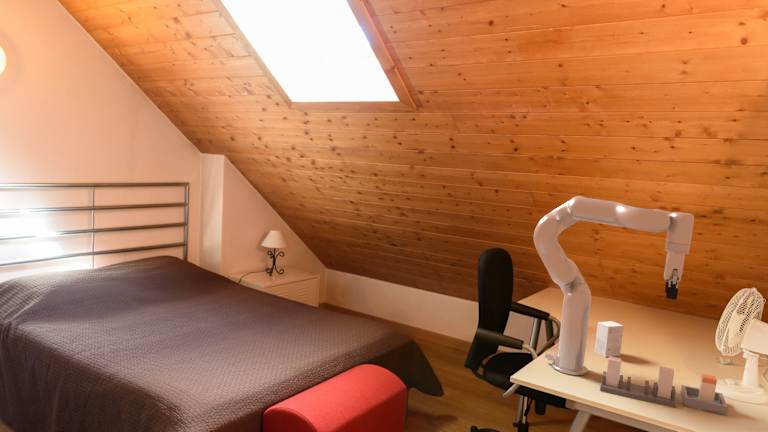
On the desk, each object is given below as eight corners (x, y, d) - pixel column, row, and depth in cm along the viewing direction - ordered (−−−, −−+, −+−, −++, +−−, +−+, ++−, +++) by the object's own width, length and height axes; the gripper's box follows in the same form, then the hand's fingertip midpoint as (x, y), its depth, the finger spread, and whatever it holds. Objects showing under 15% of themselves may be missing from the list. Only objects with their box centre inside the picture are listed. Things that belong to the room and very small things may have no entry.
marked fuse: (699, 403, 179) (702, 377, 178) (697, 399, 183) (701, 373, 182) (713, 406, 177) (716, 380, 177) (711, 402, 181) (715, 376, 180)
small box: (608, 350, 228) (612, 320, 227) (620, 356, 223) (624, 325, 221) (593, 352, 225) (597, 321, 224) (605, 357, 219) (609, 326, 218)
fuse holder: (599, 390, 185) (603, 361, 184) (601, 380, 194) (604, 352, 193) (675, 407, 176) (679, 376, 175) (673, 396, 185) (677, 367, 184)
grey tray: (683, 406, 177) (684, 397, 177) (680, 393, 188) (681, 384, 188) (726, 415, 173) (727, 406, 172) (720, 401, 183) (721, 393, 183)
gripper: (664, 243, 197) (657, 289, 199) (666, 249, 181) (659, 299, 183) (687, 246, 194) (680, 293, 196) (691, 252, 178) (684, 303, 180)
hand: (670, 296), depth 189 cm, fingers open, 9 cm apart
